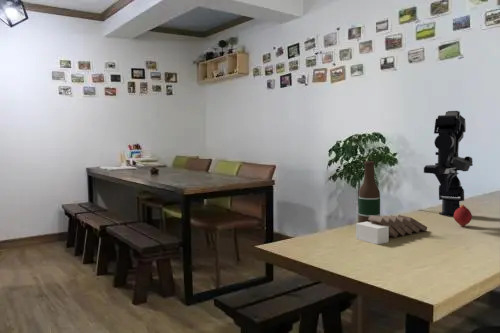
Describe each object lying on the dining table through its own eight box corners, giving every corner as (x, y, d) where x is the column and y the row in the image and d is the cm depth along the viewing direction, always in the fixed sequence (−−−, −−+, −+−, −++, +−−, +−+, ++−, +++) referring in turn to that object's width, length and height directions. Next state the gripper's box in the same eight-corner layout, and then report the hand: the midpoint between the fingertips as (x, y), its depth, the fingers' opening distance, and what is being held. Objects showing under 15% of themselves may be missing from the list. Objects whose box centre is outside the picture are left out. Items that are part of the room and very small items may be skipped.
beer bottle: (355, 227, 151) (356, 161, 149) (360, 223, 158) (361, 160, 156) (377, 229, 148) (378, 162, 146) (382, 225, 154) (382, 160, 152)
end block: (366, 236, 138) (366, 221, 138) (388, 242, 131) (388, 226, 130) (355, 238, 136) (355, 223, 136) (377, 244, 128) (377, 228, 128)
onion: (467, 224, 153) (468, 203, 153) (474, 228, 147) (475, 205, 147) (451, 224, 154) (451, 203, 153) (457, 228, 148) (457, 205, 147)
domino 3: (400, 227, 144) (383, 215, 139) (412, 230, 140) (396, 217, 135) (398, 232, 144) (381, 219, 139) (410, 234, 139) (394, 222, 135)
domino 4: (407, 226, 146) (391, 215, 141) (420, 228, 142) (403, 217, 137) (406, 230, 146) (389, 219, 141) (418, 233, 142) (401, 222, 137)
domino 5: (415, 224, 148) (398, 214, 143) (427, 227, 144) (410, 217, 139) (413, 228, 148) (397, 219, 143) (426, 231, 144) (409, 221, 139)
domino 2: (393, 229, 142) (377, 215, 137) (405, 232, 138) (389, 218, 133) (391, 233, 142) (375, 219, 137) (404, 236, 138) (387, 222, 133)
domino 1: (386, 230, 140) (370, 215, 136) (398, 233, 136) (382, 217, 132) (384, 234, 140) (368, 219, 135) (396, 238, 136) (380, 221, 131)
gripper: (451, 150, 142) (450, 196, 143) (482, 149, 151) (481, 191, 153) (423, 150, 151) (422, 192, 152) (453, 148, 161) (452, 188, 162)
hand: (445, 191), depth 155 cm, fingers closed
